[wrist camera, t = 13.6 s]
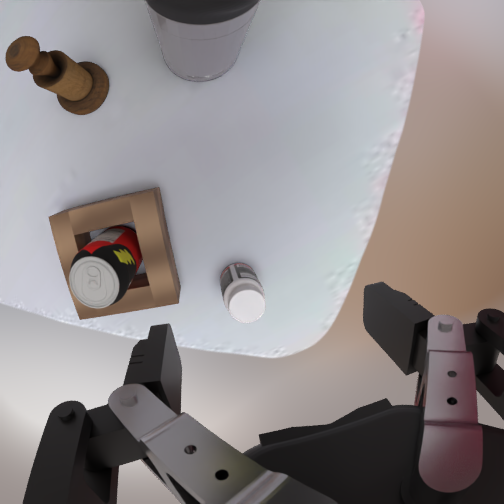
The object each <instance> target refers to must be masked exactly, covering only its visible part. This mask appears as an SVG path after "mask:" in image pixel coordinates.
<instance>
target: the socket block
mask: <svg viewBox="0 0 504 504" xmlns="http://www.w3.org/2000/svg"><path fill="white" fill-rule="evenodd" d="M49 221H50V225H51V229H52V233H53V237H54V241H55V244H56V248H57V252H58V255H59V259H60V262H61V266H62V269H63V272H64V275H65V278H66V282H67V285H68V288H69V291H70V294H71V296H72V299H73V302H74V305H75V308H76V310H77V313H78V316H79V319H80V320H81V319H88V318H94V317H101V316H107V315H113V314H120V313H126V312H132V311H138V310H143V309H149V308H155V307H161V306H166V305H172V304H178V303H179V297H180V289H181V286H180V282H179V278H178V274H177V269H176V265H175V261H174V256H173V252H172V248H171V243H170V238H169V234H168V229H167V224H166V219H165V215H164V210H163V205H162V199H161V194H160V189H159V187H158V188H153V189H149V190H144V191H139V192H135V193H131V194H126V195H122V196H118V197H114V198H110V199H105V200H101V201H97V202H93V203H90V204H86V205H82V206H78V207H74V208H71V209H67V210H64V211H62V212H59V213H57V214H55V215H52V216H50V217H49ZM133 221H134V223H135V228H136V232H137V237H138V241H139V245H140V249H141V253H142V257H143V261H144V265H145V269H146V273H143V274H137V275H135V276H134V278H133V280H132V282H131V284H130V286H129V288H128V290H127V292H126V293H125V295H124V296H123V298H122V299H121V300H119V301H118V302H117V303H115V304H113V305H110V306H107V307H104V308H91V307H88V306H86V305H84V304H82V303H81V302H80V301H79V300H78V299H77V298H76V297H75V296H74V294H73V292H72V290H71V287H70V283H69V275H70V268H71V263H72V261H73V259H74V257H75V255H76V254H77V253H78V252H79V251H80V250H81V249H82V248H84V247H85V246H86V245H87V244H89V243H90V242H91V238H90V234H89V231H94V230H98V229H102V228H107V227H111V226H115V225H120V224H124V223H129V222H133Z"/></svg>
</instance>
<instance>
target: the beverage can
mask: <svg viewBox="0 0 504 504" xmlns="http://www.w3.org/2000/svg"><path fill="white" fill-rule="evenodd" d="M142 260H143V257H142V253H141V249H140V245H139V241H138V237H137V234H136V233H135V232H134V231H132V230H131V229H129V228H126V227H123V226H114V227H110V228H108V229H106V230H105V231H104V232H102V233H101V234H100V235H98V236H97V237H96V238H95V239H93V240H92V241H91V242H90V243H89V244H87V245H86V246H85V247H84V248H82V249H81V250H80V251H79V252H78V253H77V254H76V255H75V257H74V259H73V261H72V263H71V268H70V275H69V283H70V287H71V290H72V292H73V294H74V296H75V297H76V298H77V299H78V300H79V301H80V302H81V303H82V304H84V305H86V306H88V307H91V308H104V307H107V306H110V305H113V304H115V303H117V302H118V301H119V300H121V299H122V298H123V296H124V295H125V293H126V292H127V290H128V288H129V286H130V284H131V282H132V280H133V278H134V276H135V274H136V272H137V270H138V268H139V266H140V265H141V263H142Z"/></svg>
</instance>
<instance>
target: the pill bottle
mask: <svg viewBox="0 0 504 504" xmlns="http://www.w3.org/2000/svg"><path fill="white" fill-rule="evenodd" d="M220 285H221V290H222V295H223V300H224V304H225V306H226V308H227V310H228V311H229V312H230V314H231V316H232V317H233V318H234V319H235V320H237V321H239V322H242V323H250V322H254V321H256V320H258V319H259V318H260V317H261V316H262V315H263V313H264V311H265V308H266V302H265V294H264V290H263V288H262V286H261V284H260V282H259V280H258V278H257V276H256V274H255V272H254V271H253V269H252V268H251V267H249V266H248V265H246V264H243V263H235V264H232V265H230V266H228V267H227V268H225V270H224V271H223V272H222V274H221V277H220Z"/></svg>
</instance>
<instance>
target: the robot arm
mask: <svg viewBox="0 0 504 504" xmlns="http://www.w3.org/2000/svg"><path fill="white" fill-rule="evenodd" d="M260 1H261V0H145V2H146V5H147V8H148V11H149V14H150V17H151V20H152V23H153V26H154V29H155V32H156V35H157V38H158V41H159V44H160V47H161V50H162V53H163V56H164V59H165V61H166V64H167V65H168V67H169V68H170V70H171V71H172V72H174V73H175V74H176V75H177V76H179V77H181V78H183V79H186V80H189V81H197V82H199V81H208V80H212V79H215V78H217V77H220V76H221V75H223V74H224V73H226V72H227V71H228V70H229V69H230V68H231V67H232V66H233V64H234V62H235V61H236V59H237V56H238V54H239V51H240V49H241V46H242V44H243V41H244V39H245V36H246V34H247V32H248V29H249V27H250V24H251V22H252V20H253V17H254V15H255V13H256V10H257V8H258V5H259V3H260ZM363 322H364V326H365V329H366V331H367V332H368V333H369V334H370V335H371V337H373V339H374V340H375V341H376V342H377V343H378V344H379V345H380V347H381V348H382V349H383V350H384V351H385V352H386V353H387V354H388V356H389V357H390V358H391V359H392V360H393V361H394V362H395V363H396V365H397V366H398V367H399V368H400V369H401V370H402V371H403V372H404V374H405V375H409V374H411V373H414V372H416V371H418V372H419V375H418V379H417V387H416V395H415V402H414V405H395V406H392V405H391V404H390V402H389V401H388V399H386V398H385V399H383V400H380V401H377V402H374V403H372V404H369V405H366V406H363V407H360V408H358V409H356V410H354V411H352V412H351V413H349V414H347V415H345V416H344V417H342V418H340V419H338V420H336V421H335V422H333V423H331V424H327V425H317V426H302V427H291V428H286V429H282V430H278V431H273V432H269V433H264V434H259V438H260V444H259V445H257V446H254V447H253V448H251V449H249V450H247V451H246V452H244V453H243V454H242V453H241V452H239V451H238V450H236V449H235V448H233V447H232V446H231V445H229V444H228V443H226V442H225V441H223V440H222V439H220V438H219V437H218V436H216V435H215V434H214V433H212V432H211V431H210V430H208V429H207V428H206V427H204V426H203V425H202V424H200V423H199V422H198V421H196V420H195V419H194V418H192V417H191V416H190V415H189V414H187V413H185V412H183V413H181V382H182V366H181V360H180V356H179V352H178V349H177V346H176V342H175V339H174V335H173V332H172V328H171V326H170V324H162V325H155V326H151V327H150V331H149V335H148V339H144V340H140V341H139V342H138V343H137V344H136V345H135V347H134V348H133V351H132V355H131V358H130V361H129V365H128V369H127V372H126V376H125V380H124V384H123V386H121V387H119V388H117V389H116V390H115V391H113V393H112V394H111V395H110V397H109V399H108V404H107V405H104V406H101V407H97V408H94V409H91V410H86V408H85V407H84V405H83V404H82V403H80V402H78V401H67V402H64V403H61V404H59V405H58V406H57V407H55V408H54V409H53V410H52V411H51V413H50V415H49V418H48V420H47V423H46V426H45V429H44V432H43V435H42V438H41V441H40V444H39V447H38V450H37V453H36V457H35V460H34V463H33V467H32V470H31V474H30V477H29V481H28V485H27V488H26V492H25V496H24V500H23V504H117V486H118V472H119V465H123V464H126V463H129V462H133V461H136V460H139V459H141V461H142V462H143V463H144V464H145V465H146V466H147V467H148V469H149V470H150V471H151V472H152V473H153V474H154V475H155V476H156V477H157V478H158V479H159V480H160V481H161V482H162V483H163V484H164V485H165V486H166V488H168V490H170V492H171V493H172V494H173V495H174V496H175V497H176V498H177V500H178V501H179V502H180V503H181V504H504V429H500V428H496V427H492V426H488V425H484V424H480V423H478V410H477V393H476V390H477V391H478V392H479V393H480V394H481V395H482V396H483V397H484V399H485V400H486V401H487V402H488V403H489V404H490V405H491V406H492V407H493V409H494V410H495V411H496V412H497V413H498V414H499V415H500V416H501V417H502V419H503V420H504V370H503V369H502V368H501V367H500V366H499V365H498V364H496V361H497V358H498V355H499V352H501V353H502V354H503V355H504V313H503V312H502V311H499V310H496V309H484V310H481V311H480V312H479V313H478V316H477V321H476V323H469V324H462V322H461V321H460V320H459V319H457V318H456V317H453V316H450V315H438V316H434V315H433V314H432V313H430V312H429V311H428V310H426V309H425V308H423V306H421V305H420V304H418V303H417V302H416V301H415V300H412V298H410V297H409V296H408V295H406V294H405V293H402V292H399V291H396V290H393V289H392V288H390V287H389V286H388V285H386V284H385V283H384V282H379V283H374V284H370V285H367V286H365V288H364V308H363Z"/></svg>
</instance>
